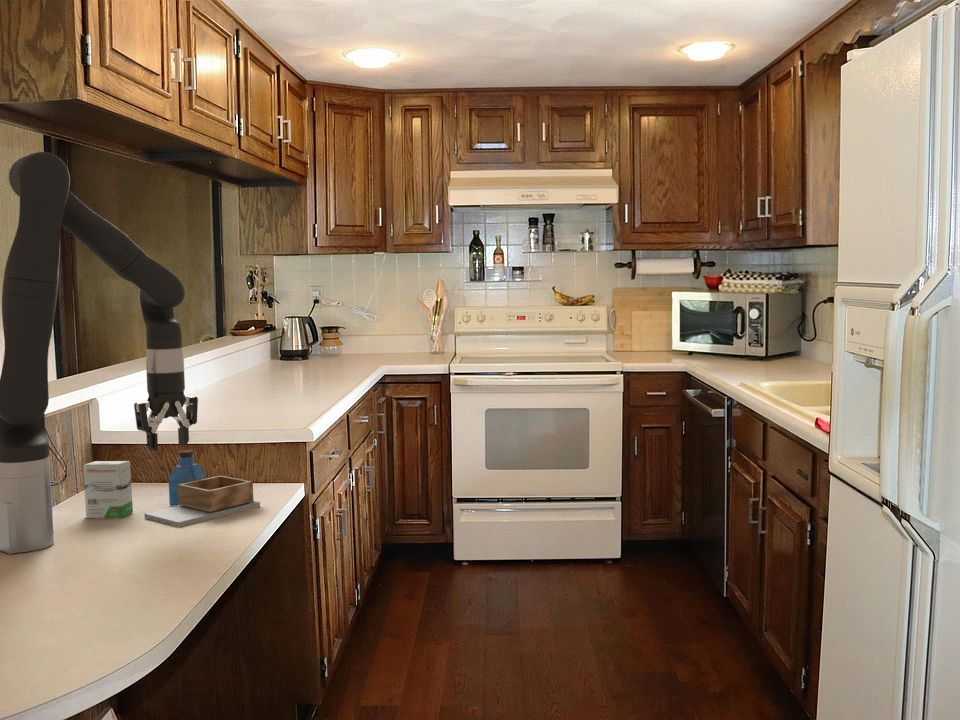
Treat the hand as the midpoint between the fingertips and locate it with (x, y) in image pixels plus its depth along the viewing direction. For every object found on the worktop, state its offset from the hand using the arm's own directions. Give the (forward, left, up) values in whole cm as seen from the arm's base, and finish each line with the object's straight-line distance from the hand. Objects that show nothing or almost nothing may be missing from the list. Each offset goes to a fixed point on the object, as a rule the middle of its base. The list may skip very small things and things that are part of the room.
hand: (168, 447), depth 184 cm
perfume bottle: (+12, +11, -16) cm, 23 cm away
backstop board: (+8, 0, -16) cm, 18 cm away
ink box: (-5, +15, -16) cm, 23 cm away
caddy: (+11, 0, -14) cm, 18 cm away
